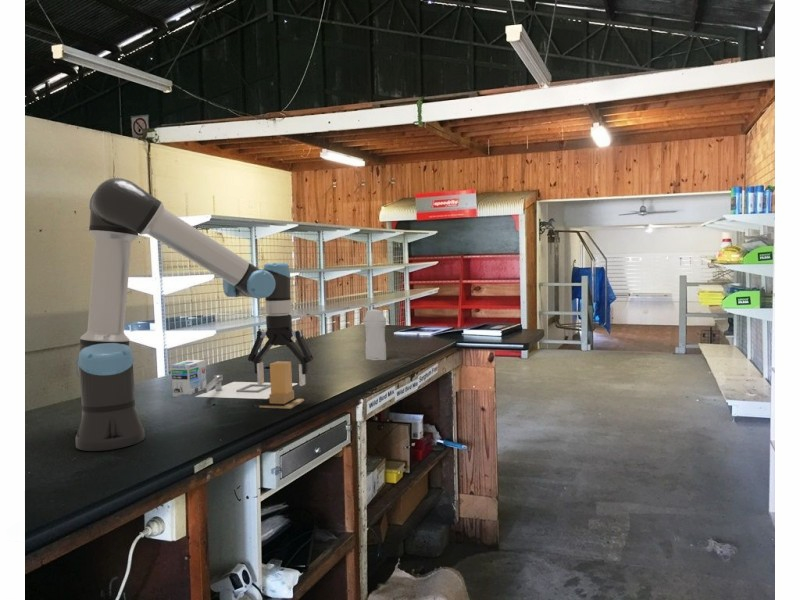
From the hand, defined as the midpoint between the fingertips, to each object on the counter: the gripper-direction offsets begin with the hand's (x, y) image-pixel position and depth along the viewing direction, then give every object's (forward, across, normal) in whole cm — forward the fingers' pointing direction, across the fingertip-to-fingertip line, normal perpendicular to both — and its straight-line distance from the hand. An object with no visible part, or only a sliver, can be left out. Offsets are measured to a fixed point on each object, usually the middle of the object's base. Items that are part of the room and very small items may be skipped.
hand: (281, 384), depth 181 cm
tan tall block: (+5, 0, 0) cm, 5 cm away
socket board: (+6, +18, -14) cm, 24 cm away
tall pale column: (+6, -5, -84) cm, 84 cm away
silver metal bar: (+2, +25, -3) cm, 25 cm away
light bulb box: (+6, +38, -10) cm, 40 cm away
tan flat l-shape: (+6, 0, 0) cm, 6 cm away
